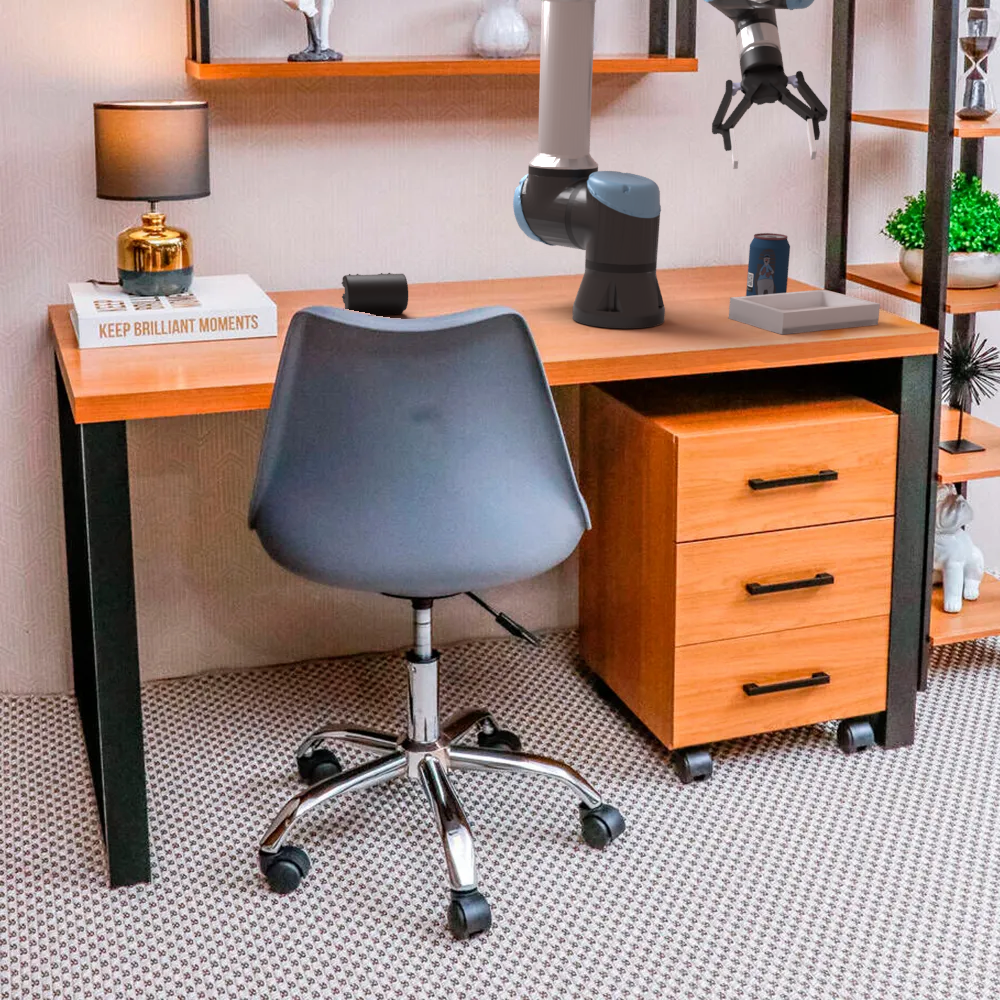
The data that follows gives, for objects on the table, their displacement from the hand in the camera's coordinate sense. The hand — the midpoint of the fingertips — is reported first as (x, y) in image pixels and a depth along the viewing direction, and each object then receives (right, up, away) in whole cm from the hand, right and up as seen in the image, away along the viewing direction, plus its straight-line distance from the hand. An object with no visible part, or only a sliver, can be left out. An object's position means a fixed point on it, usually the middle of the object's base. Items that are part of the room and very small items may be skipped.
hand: (774, 160), depth 252 cm
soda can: (-2, -25, 0) cm, 25 cm away
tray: (+2, -30, -14) cm, 33 cm away
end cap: (-69, -29, -15) cm, 77 cm away
